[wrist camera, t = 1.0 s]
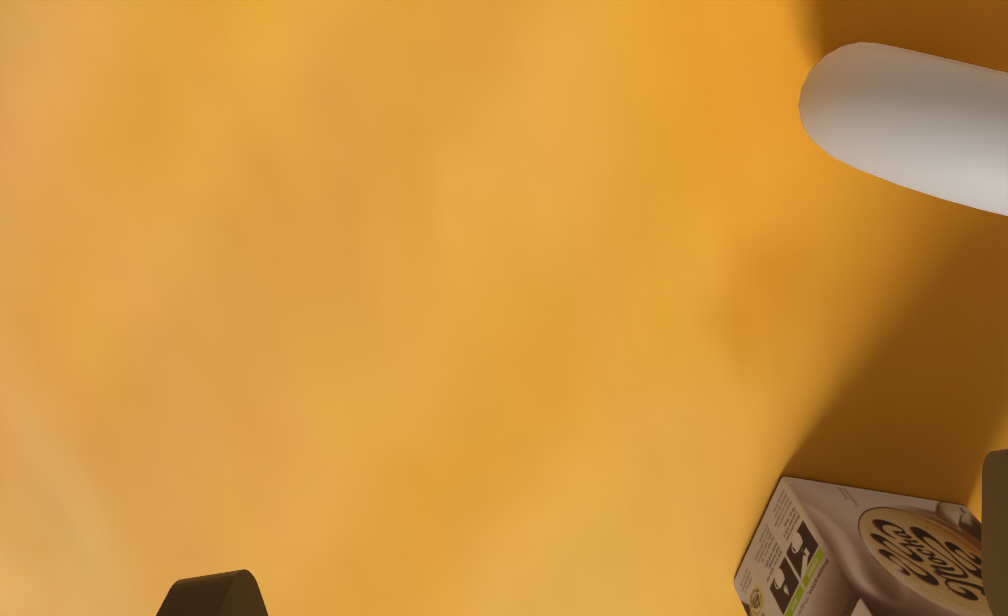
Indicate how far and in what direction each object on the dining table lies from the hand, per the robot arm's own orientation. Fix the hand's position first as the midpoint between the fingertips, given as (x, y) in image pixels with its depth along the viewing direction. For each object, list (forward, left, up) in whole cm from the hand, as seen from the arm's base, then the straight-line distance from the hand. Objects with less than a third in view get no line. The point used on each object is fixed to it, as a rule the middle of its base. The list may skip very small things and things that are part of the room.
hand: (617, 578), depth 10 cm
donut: (+14, +3, -22) cm, 26 cm away
